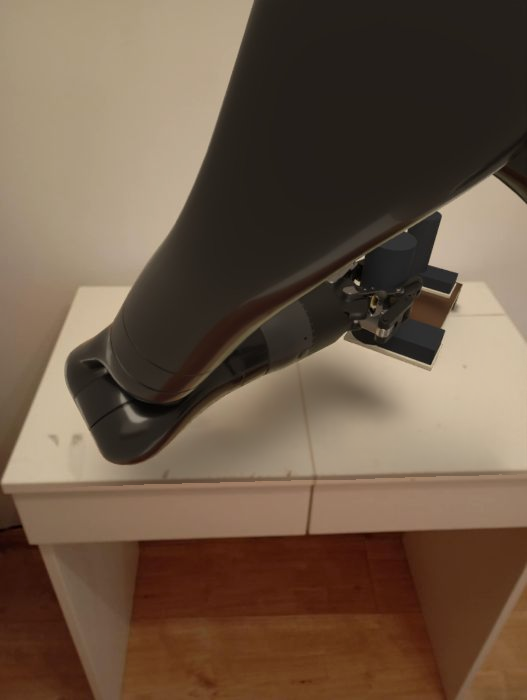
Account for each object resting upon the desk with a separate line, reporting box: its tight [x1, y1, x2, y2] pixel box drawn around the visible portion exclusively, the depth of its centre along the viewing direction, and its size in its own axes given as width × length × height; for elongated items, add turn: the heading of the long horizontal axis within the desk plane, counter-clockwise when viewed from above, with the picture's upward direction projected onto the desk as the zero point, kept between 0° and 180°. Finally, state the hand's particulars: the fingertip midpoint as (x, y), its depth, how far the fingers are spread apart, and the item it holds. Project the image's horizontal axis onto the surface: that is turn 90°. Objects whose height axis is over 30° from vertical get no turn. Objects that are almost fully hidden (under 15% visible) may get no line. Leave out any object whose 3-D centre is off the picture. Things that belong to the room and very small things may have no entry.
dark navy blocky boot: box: [343, 230, 446, 372], centre depth 52 cm, size 11×5×13 cm, turn 60°
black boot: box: [406, 210, 460, 298], centre depth 83 cm, size 11×5×13 cm, turn 59°
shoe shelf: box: [409, 281, 464, 329], centre depth 85 cm, size 19×12×5 cm, turn 149°
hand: (398, 273), depth 54 cm, fingers closed on dark navy blocky boot, 5 cm apart
